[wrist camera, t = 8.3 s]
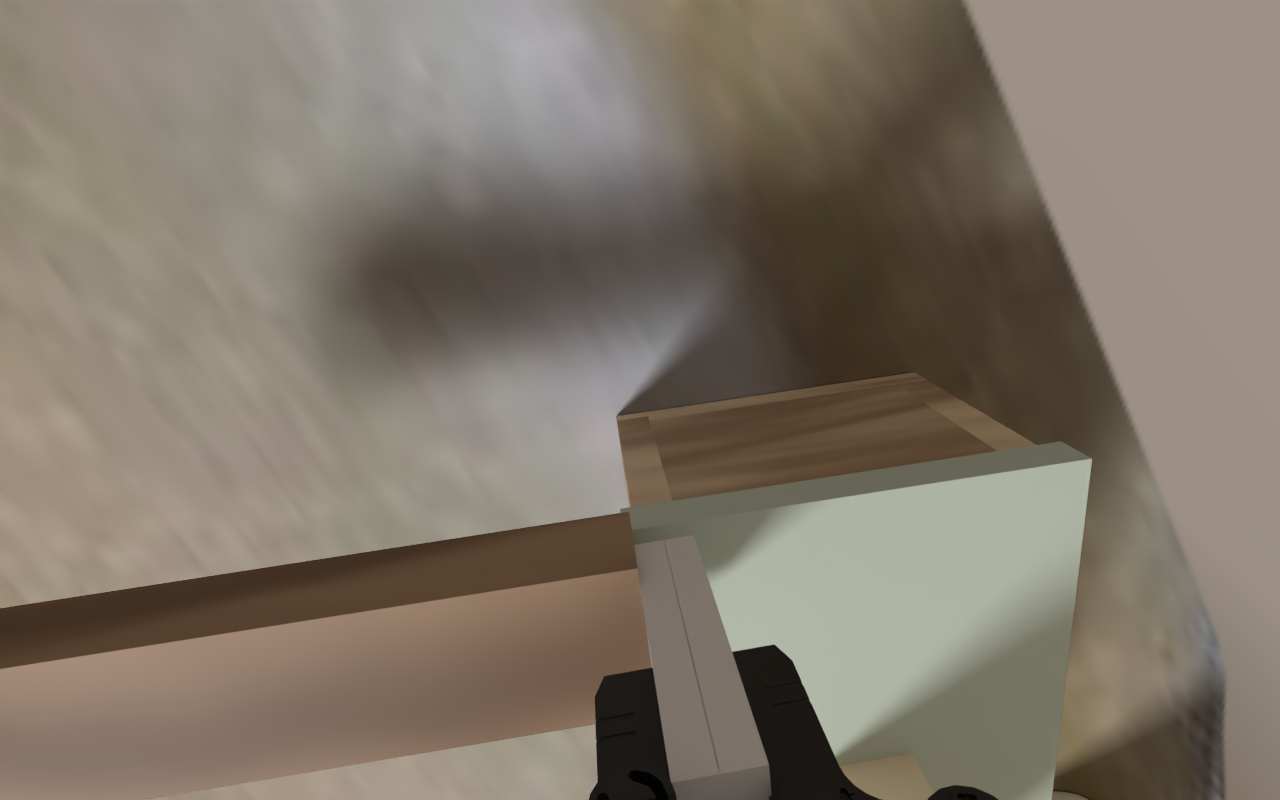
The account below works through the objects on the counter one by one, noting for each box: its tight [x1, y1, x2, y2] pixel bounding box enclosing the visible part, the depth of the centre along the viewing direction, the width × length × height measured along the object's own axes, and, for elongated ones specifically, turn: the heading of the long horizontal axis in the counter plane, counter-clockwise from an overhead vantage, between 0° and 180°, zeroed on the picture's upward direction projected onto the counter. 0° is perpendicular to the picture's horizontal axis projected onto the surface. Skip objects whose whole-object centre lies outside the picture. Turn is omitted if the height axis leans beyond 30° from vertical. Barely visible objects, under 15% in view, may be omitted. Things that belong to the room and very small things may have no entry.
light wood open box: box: [616, 372, 1036, 507], centre depth 26 cm, size 20×12×8 cm, turn 7°
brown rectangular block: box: [0, 512, 652, 800], centre depth 16 cm, size 4×16×2 cm, turn 97°
